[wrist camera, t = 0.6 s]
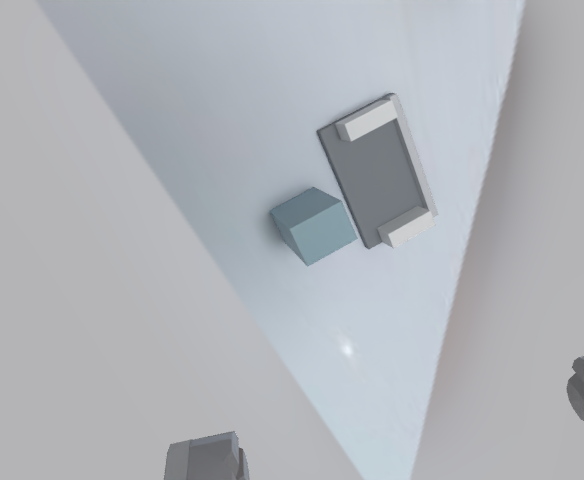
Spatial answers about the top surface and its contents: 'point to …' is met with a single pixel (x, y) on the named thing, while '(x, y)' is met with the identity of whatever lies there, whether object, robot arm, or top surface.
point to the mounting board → (380, 173)
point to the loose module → (313, 225)
